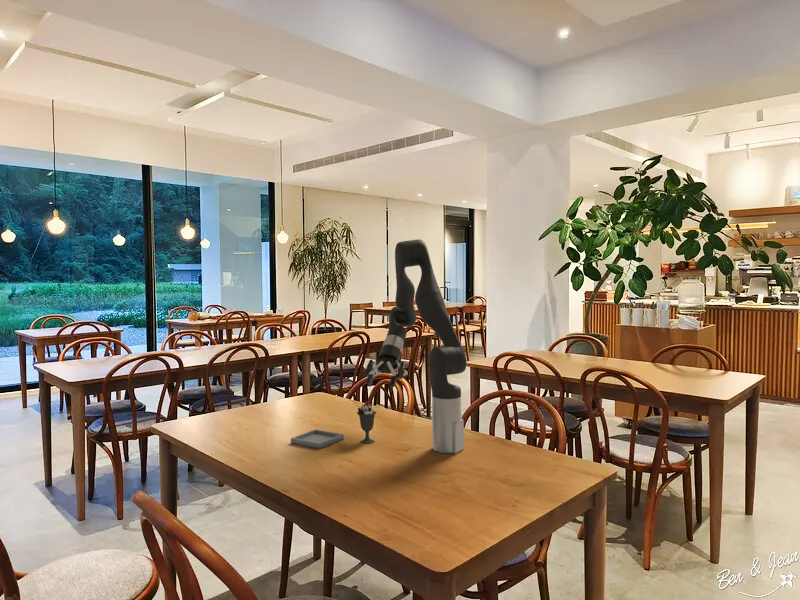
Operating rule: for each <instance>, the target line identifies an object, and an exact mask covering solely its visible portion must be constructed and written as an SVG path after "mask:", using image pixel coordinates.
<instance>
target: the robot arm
mask: <svg viewBox="0 0 800 600" xmlns="http://www.w3.org/2000/svg"><path fill="white" fill-rule="evenodd" d="M394 262H395V263H394V265H395V266H394V267H395V279H396V280H395V281H396V291H395V305H396V306H393V307H392V308H391V309H390V311H389V325H388V330H387V334H386V337H385V339H384V340H383V344H382V347H381V349H380V352H379V355H378V359H377V360H376V361H373V360H372V359H370V360H368V362H367V363H368V364H367V365H366V368H365V370H364V373H365V375H366V377H367V380H366V384H367V386H368V387H372V385H373V381H374V378H375V377H377V376H379V375H380V374H387V375H390V374H391V375H392V376H391V378H390V382H389V384H388V385H389V387H390V389H393V388H394V387H395V386H396V384H397V380H398V379H400V380H401V379H404V375H405V370H406V364H405V361H404V360H402V361H400V359H401V355H402V352H403V349H404V343H405V340H406V337H407V329H406V328H411V327H413V326H414V325H415V324H416V323H417V322H416V321H417V314H416V313H417V312H416V308H417V311H418V313H419V316H420V318H421V320H422V321H423V322H424V323H425V324H426V325H427V326H428V327H429V328H430V329H432V331H433V332H434V333H435V334H437V336H438V338H439V339H440V340H441V342H442V345H441V346H440V345H439V346H435V347H433V348H431V350H430V352H429V355H428V364H429V365H428V366H429V380H430V381H429V382H430V388H431V398H432V399H431V405H432V406H431V410H432V411H431V412H432V414H431V416H432V417H431V418H432V420H431V421H432V422H431V423H432V424H431V425H432V428H431V429H432V442H431V443H432V450H433V451H434V452H435V453H441V454H458V453H459V452H460V451H462V450H464V449H465V440H464V439H465V429H464V427H465V426H464V425H465V423H464V419H463V418H462V389H461V387H460V386H458V385H456V384H452V383H450V382H449V381H448V380H449V379H448V376H450V375H451V376H453V375H459V374H462V373H463V372H465V371H466V368H467V356H466V353H465V349H464V348H463V345H462V343H461V341H460V339H459V336H458V335H457V332H456V330H455V329H454V326H453V324H452V321H451V318H450V316H449V313H448V310H447V307H446V303H445V299H444V297H443V295H442V292H441V290H440V288H439V284H438V282H437V279H436V276H435V272H434V270H433V269H434V268H433V265H432V261H431V257H430V253H429V250H428V247H427V245H426V243H425V241H424V240H422V239H421V238H420V239H409V240H402V241H398V242H397V243H396V245H395V249H394ZM416 266H417V267H418V266H419V268H420V270H421V274H420V275H421V276H420V279H419V283H418V284H417V288H416V290H415V286H414V283H413V282H412V280H411V279H410V278H409V275H408V274H407V273H406V268H410V267H416ZM414 304H416V308H415V305H414ZM397 368H398V372H397V373H396V371H395V370H396V369H397Z"/></svg>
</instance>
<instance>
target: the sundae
mask: <svg viewBox="0 0 800 600" xmlns="http://www.w3.org/2000/svg"><path fill="white" fill-rule="evenodd" d="M371 399H372V396H369V398H368V401H365V402H364V404H362V405H361V407H358V408H357V412H356V414H357V415H358V416H359V422H360V423H359V424H360V429H362V431H364V432H365V437H364V439H361V440H360V441H359V443H360V444H362V443H363V444H362V445H371V444H374V443H375V440H374V439H371V438H370V431H371V430H373V428H374V422H375V417H376V414H377V410H375V408H374V406H373V404H372V403H371ZM373 442H374V443H373ZM370 443H371V444H370Z"/></svg>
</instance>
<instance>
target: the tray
mask: <svg viewBox="0 0 800 600" xmlns="http://www.w3.org/2000/svg"><path fill="white" fill-rule="evenodd" d="M344 439H345V437H344V434H343V433H340V432H335V431H334V432H332V431H328V430H321V429H317V428H316V429H315V428H314V429H313V430H309V431H307V432H304V433H301V434H299V435H296V436H293V437H291V438H290V444H291V445H295V446H301V447H306V448H311V449H316V450H322V449H324V447H325V448H326V447H329V446H331V445H333V444H336V443H338V442H341V441H343V440H344Z"/></svg>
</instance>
